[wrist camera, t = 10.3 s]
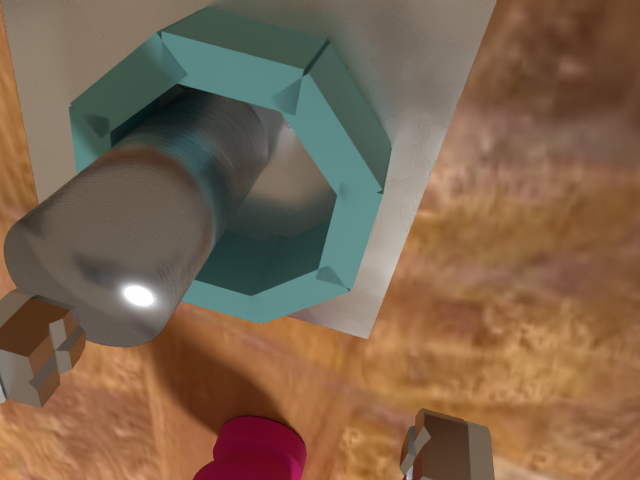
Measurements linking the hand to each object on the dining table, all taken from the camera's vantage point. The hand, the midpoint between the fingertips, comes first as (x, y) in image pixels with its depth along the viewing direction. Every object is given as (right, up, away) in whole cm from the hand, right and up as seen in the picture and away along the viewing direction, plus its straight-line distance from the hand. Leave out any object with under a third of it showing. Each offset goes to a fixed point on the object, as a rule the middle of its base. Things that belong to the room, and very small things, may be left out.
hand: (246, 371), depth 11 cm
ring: (-1, +6, +8) cm, 11 cm away
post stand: (-2, +8, +9) cm, 12 cm away
